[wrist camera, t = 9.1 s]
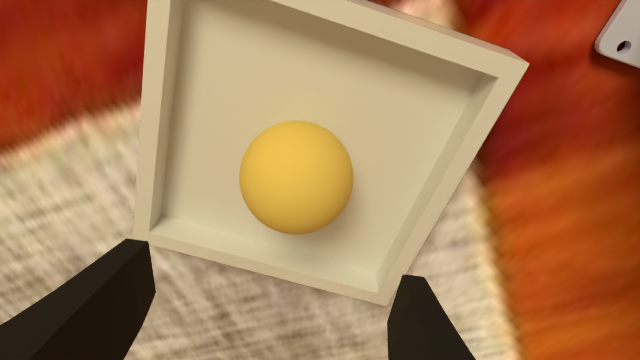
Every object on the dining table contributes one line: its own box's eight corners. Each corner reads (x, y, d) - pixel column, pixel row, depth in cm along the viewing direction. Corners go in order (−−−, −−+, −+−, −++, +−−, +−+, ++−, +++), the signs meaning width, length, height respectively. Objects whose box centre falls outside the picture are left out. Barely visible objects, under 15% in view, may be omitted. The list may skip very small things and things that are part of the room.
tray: (507, 49, 16) (529, 63, 14) (383, 276, 24) (386, 306, 22) (177, -66, 15) (152, -67, 13) (151, 213, 22) (132, 239, 20)
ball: (359, 109, 17) (365, 162, 13) (344, 198, 20) (346, 264, 16) (252, 97, 17) (225, 146, 13) (250, 188, 20) (227, 252, 16)
